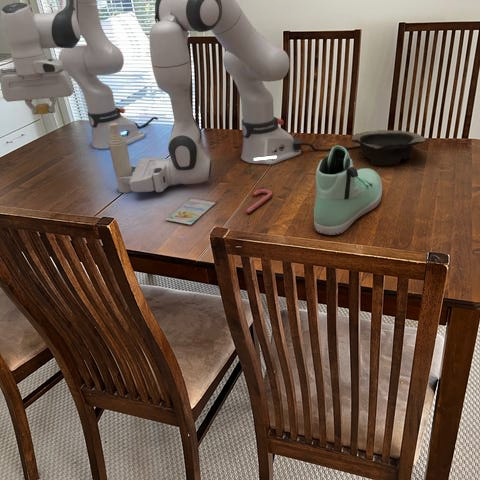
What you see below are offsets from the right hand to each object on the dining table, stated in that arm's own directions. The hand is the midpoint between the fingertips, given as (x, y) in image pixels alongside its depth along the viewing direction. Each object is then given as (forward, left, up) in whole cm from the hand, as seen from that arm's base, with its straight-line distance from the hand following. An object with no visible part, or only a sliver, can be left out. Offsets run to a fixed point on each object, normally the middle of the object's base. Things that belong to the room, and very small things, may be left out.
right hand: (121, 175), depth 159 cm
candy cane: (-33, +34, -5) cm, 47 cm away
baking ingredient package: (-14, +28, -5) cm, 31 cm away
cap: (+18, -6, +25) cm, 31 cm away
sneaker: (-54, +51, -5) cm, 74 cm away
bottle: (-1, 0, -5) cm, 5 cm away
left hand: (+18, -6, +23) cm, 30 cm away
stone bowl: (-88, +26, -5) cm, 92 cm away
